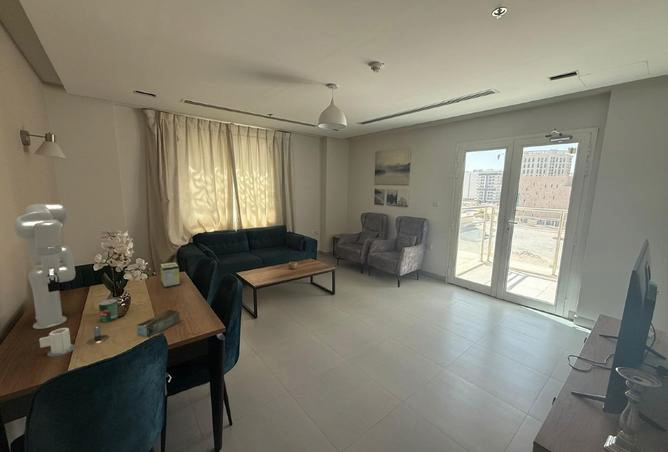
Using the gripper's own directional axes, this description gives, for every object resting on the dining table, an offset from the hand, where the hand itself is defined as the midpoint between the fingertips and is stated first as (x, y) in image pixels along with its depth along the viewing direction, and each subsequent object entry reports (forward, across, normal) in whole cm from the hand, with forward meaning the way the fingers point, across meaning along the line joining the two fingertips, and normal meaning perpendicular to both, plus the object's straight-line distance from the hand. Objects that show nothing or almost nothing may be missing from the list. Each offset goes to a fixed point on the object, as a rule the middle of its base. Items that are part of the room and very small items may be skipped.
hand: (54, 288), depth 118 cm
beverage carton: (+31, +6, +37) cm, 49 cm away
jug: (+29, 0, -2) cm, 30 cm away
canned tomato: (+31, -23, +19) cm, 43 cm away
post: (+30, 0, +12) cm, 33 cm away
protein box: (+31, -64, +60) cm, 93 cm away
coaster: (+30, 0, 0) cm, 30 cm away
